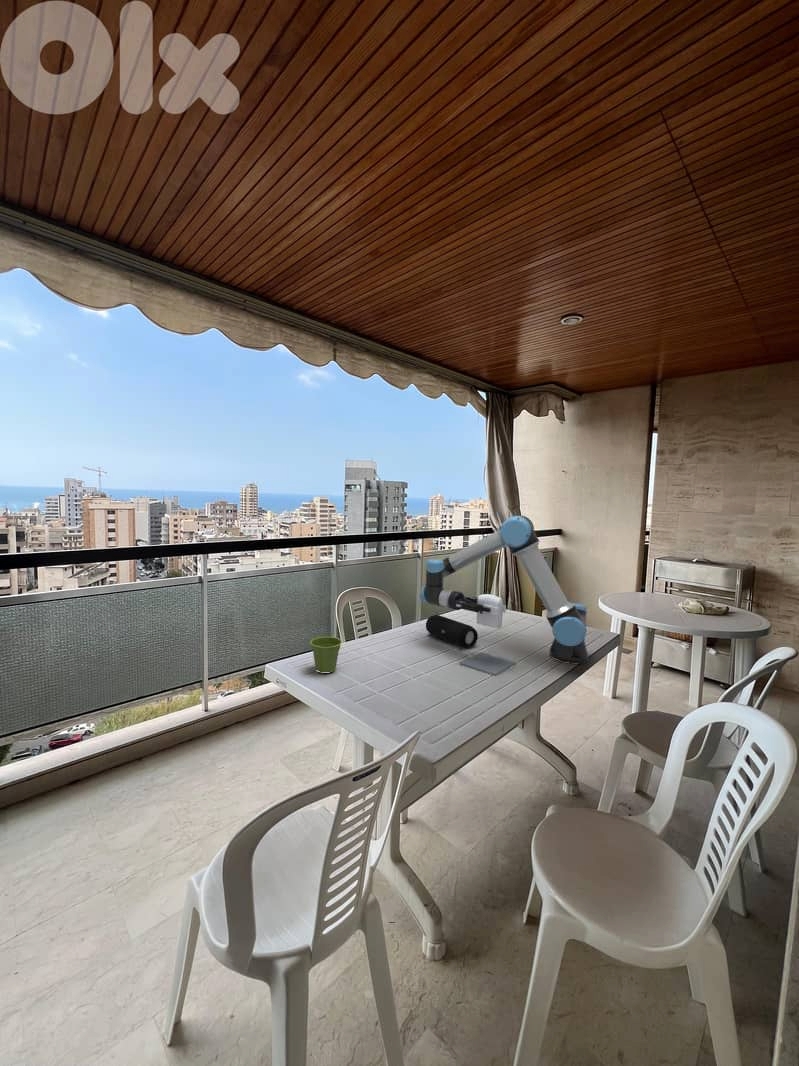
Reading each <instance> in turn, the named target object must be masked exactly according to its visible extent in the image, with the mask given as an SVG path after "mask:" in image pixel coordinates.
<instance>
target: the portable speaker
mask: <svg viewBox="0 0 799 1066" xmlns="http://www.w3.org/2000/svg"><path fill="white" fill-rule="evenodd" d="M425 628H426V631H427V632H428V634H430V635H431V636H433V637H435V638H438V639H441V640H442V641H443V640H444V641H445V642H448V643H451V644H454V645H455V646H459V647H462V648H464V649H468V648H469V649H470V648H472V647H474V646H475V645H476V643H478V642H477V641H478V639H479V637H478V636H479V634H478V631H477V629H475V628H474V627H473V626H471V625H469V624H466V623H463V622H460V621H457V620H455V619H451V618H448V617H445V616H443V615H439V614H435V615H430V616H429V617H428V618H427V620H426V622H425Z"/></svg>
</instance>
